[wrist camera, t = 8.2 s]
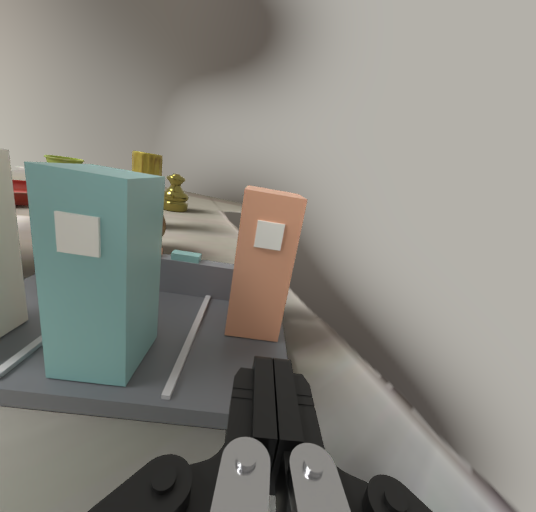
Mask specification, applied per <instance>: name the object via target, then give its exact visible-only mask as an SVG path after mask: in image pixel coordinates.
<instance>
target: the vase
mask: <svg viewBox="0 0 536 512" xmlns="http://www.w3.org/2000/svg"><path fill="white" fill-rule="evenodd" d="M132 171H134V172H140V173H146V174H152V175H157V176H162V156H161V155H156V154H150V153H143V152H138V151H133V153H132Z"/></svg>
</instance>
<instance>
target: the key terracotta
mask: <svg viewBox="0 0 536 512" xmlns="http://www.w3.org/2000/svg"><path fill="white" fill-rule="evenodd" d="M306 204H307V199H305V198H304V197H302V196H301V195H299V194H295V193H290V192H284V191H278V190H272V189H266V188H261V187H254V186H249V185H248V186H247V187H246V188H245V191H244V198H243V205H242V212H241V220H240V227H239V234H238V241H237V248H236V256H235V263H234V270H233V277H232V284H231V291H230V299H229V306H228V313H227V320H226V327H225V335H227V336H235V337H242V338H250V339H258V340H265V341H273V342H278V337H279V333H280V328H281V323H282V318H283V314H284V309H285V304H286V299H287V295H288V290H289V285H290V280H291V276H292V270H293V266H294V261H295V257H296V252H297V247H298V242H299V238H300V233H301V228H302V223H303V219H304V214H305V209H306Z"/></svg>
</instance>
